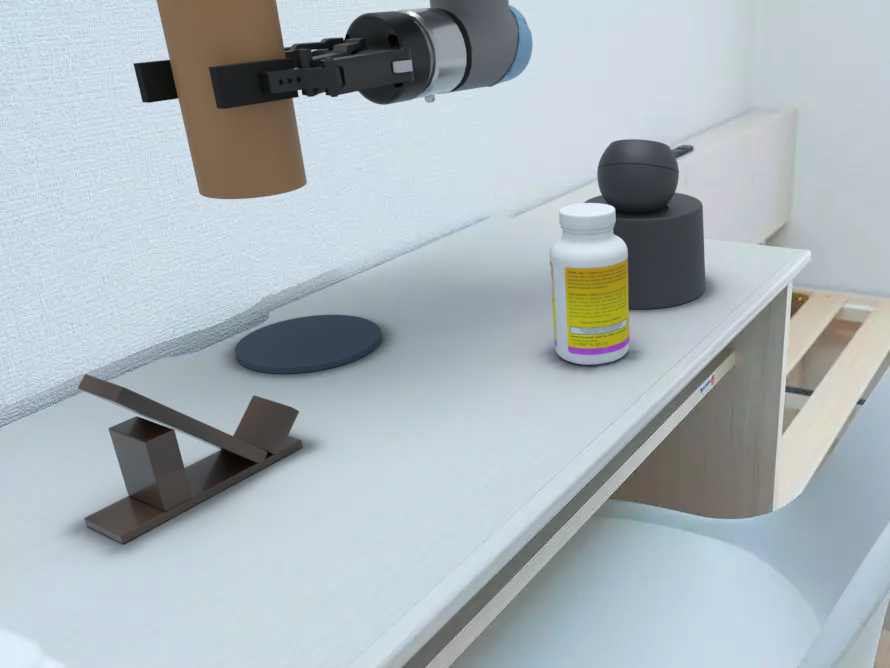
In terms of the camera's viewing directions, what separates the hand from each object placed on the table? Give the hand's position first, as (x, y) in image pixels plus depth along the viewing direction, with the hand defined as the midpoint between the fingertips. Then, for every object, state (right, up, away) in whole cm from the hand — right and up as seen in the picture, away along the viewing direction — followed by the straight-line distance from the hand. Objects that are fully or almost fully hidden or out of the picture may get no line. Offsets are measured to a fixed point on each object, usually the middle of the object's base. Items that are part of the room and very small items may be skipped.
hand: (177, 85), depth 63 cm
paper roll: (+2, +1, +4) cm, 5 cm away
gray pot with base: (+34, -10, +32) cm, 48 cm away
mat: (+3, -17, +20) cm, 26 cm away
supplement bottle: (+29, -18, +16) cm, 38 cm away
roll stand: (+3, -28, -2) cm, 28 cm away
